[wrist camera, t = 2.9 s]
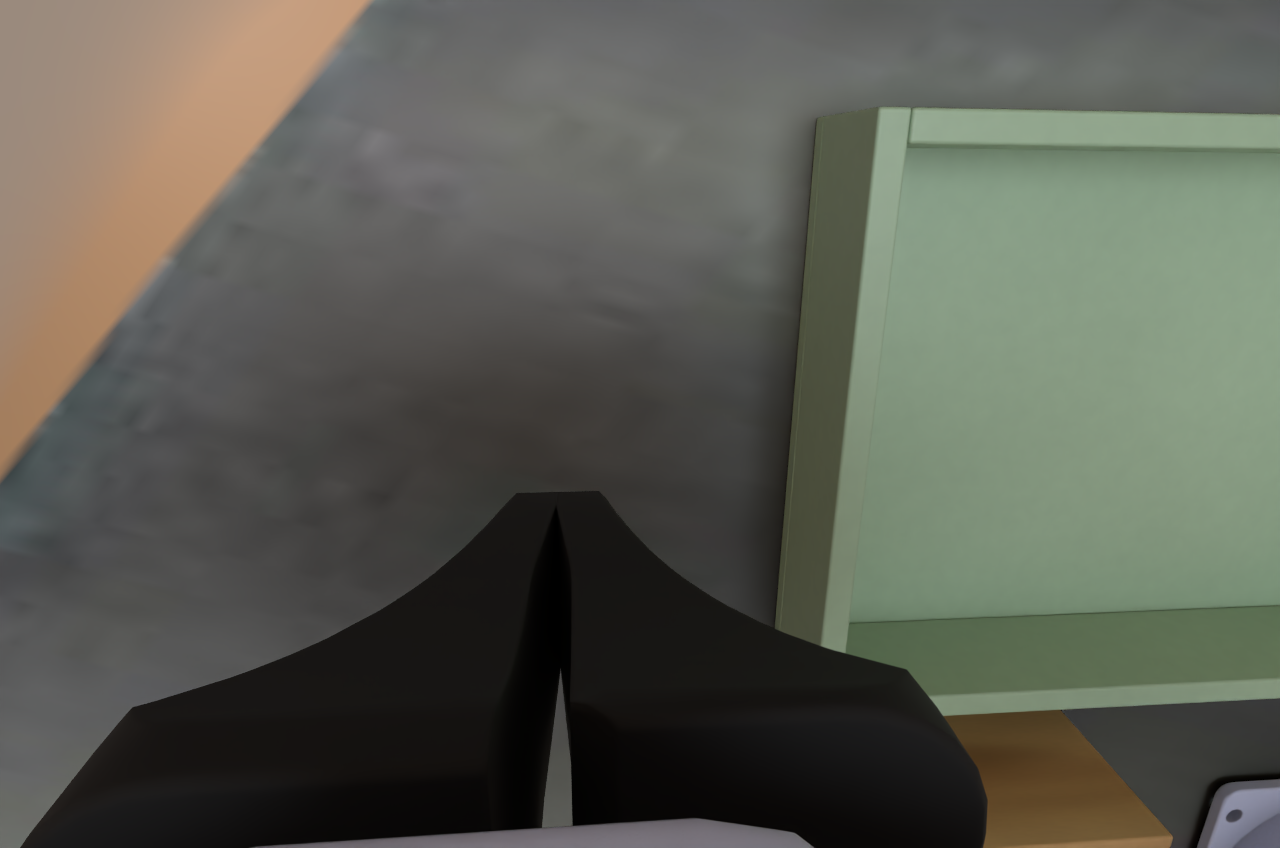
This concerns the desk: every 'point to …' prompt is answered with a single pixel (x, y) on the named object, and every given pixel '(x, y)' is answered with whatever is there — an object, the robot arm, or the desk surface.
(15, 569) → the desk surface
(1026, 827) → the block
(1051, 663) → the tray
